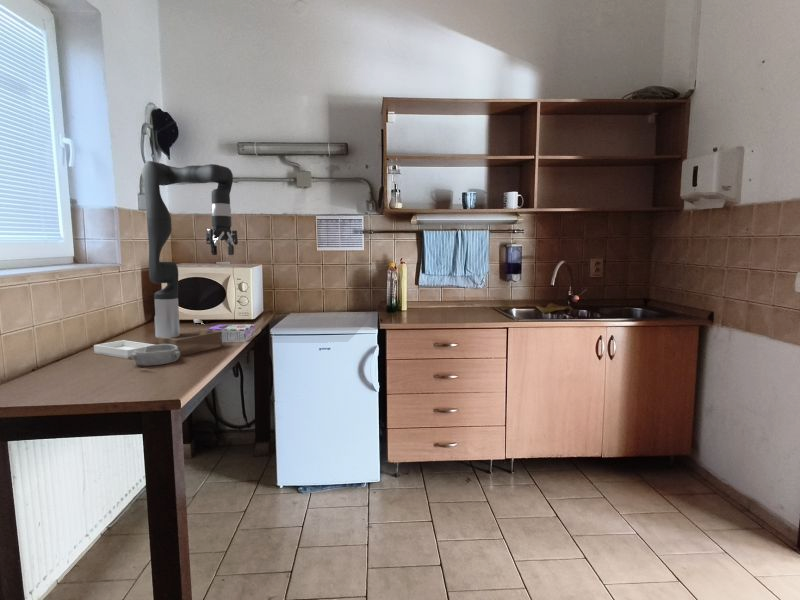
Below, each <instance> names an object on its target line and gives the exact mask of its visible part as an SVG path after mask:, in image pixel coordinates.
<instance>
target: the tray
mask: <svg viewBox="0 0 800 600" xmlns="http://www.w3.org/2000/svg"><path fill="white" fill-rule="evenodd" d="M151 345H155V344H153V343H146V342H140V341H139V342H138V341H131V340H125V339H122V340H116V341H110V342H103V343H98V344H93V353H94V354H98V355H104V356H109V357H115V358H120V359H121V358H122V359H132V358H131V354H132V353H134V351H135V350H136V351H137V352H144V351H145V349H146V347H147V346H151Z"/></svg>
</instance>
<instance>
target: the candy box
mask: <svg viewBox="0 0 800 600" xmlns="http://www.w3.org/2000/svg"><path fill="white" fill-rule="evenodd" d="M205 330H212V331H221V332H222V343H247V342H248V341H249V340H250V339H253V337H255V336H256V324H255V323H254V324H251V323H249V324H247V323H246V324H245V323H243V324H225V323H224V324H223V323H222V324H220V323H219V324H215V325H213V326H211V327H209V328H206V329H205Z"/></svg>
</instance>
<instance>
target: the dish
mask: <svg viewBox="0 0 800 600" xmlns="http://www.w3.org/2000/svg"><path fill="white" fill-rule="evenodd" d="M180 357H181V356H180V351H179V348H178V346H176V345H173V344H159V345H156V344H154V345H151V346H147V347H146V349H145V351H144V352H137V351H136V350H135V351H134V353H132V354H131V358H130V359H131V360H132V361H134V362H135V365H137V366H145V367H147V366H148V367H149V366H159V365H161V366H162V365H165V364H171V363H174V362H176V361H178V360H179V358H180Z"/></svg>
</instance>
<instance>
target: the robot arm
mask: <svg viewBox="0 0 800 600" xmlns="http://www.w3.org/2000/svg"><path fill="white" fill-rule="evenodd" d="M141 180H142V184H143V189H144V196H145V197H144V198H145V207H146V225H147V237H148V238H147V239H148V277H149V280H150V282H151V283H153V284H166V286H165V287H164V288H162V289H159V290H158V291H156V292H154V294H153V296H154V313H155V315H154V318H153V319H154V337H155V338H156V337H163V338H171V339H176V338H178V336H179V337H181V336H180V335H181V334H180V311H179V310H180V308H179V268H178V264H177V263H176V262H174V261H160V258H161V253H162V249H163V248H164V245H165V244H166V242H167V241H168V239H169V238H170V236H171V234H172V231H173V230H172V218H171V217H172V216H171V212H170V211H169V209H168V207H167V205H166V204H165V202H164V200H163V197H162V194H161V188H160V187H161V186H169V185H174V184H181V183H182V184H183V183H185V184H186V183H189V184H190V183H191V184H207V183H216V184H217V188H215V189H213V190H212V191H211V209H210V210H211V226H212V228H207V229H206V231H205V232H206V234H205V235H206V236H205V237H206V238H205V240H206V241H205V243H206V244H207V245H210V253H211V255H212V256H217V255H218V246H217V245H218V243H219V242H220V241H224V242H226V244H227V245H228V246H227V250H228V251H227V252H228V256H234V253H235V246H236V245H238V244H239V239H238V231H237V230H235V229H234V230H231V227H232V226H233V225H232V210H231V195H230V194H231V191H232V187H233V181H234V174H233V172H232V170H231V169H230V168H229V167H226V166H223V165H219V164H211V163H210V164H205V165H186V166H183V167H175V166H170V165H167V164H165V163H161V162H157V161H154V160H153V161H152V160H147V161H146V162H145V163H143V165H142V169H141Z"/></svg>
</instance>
